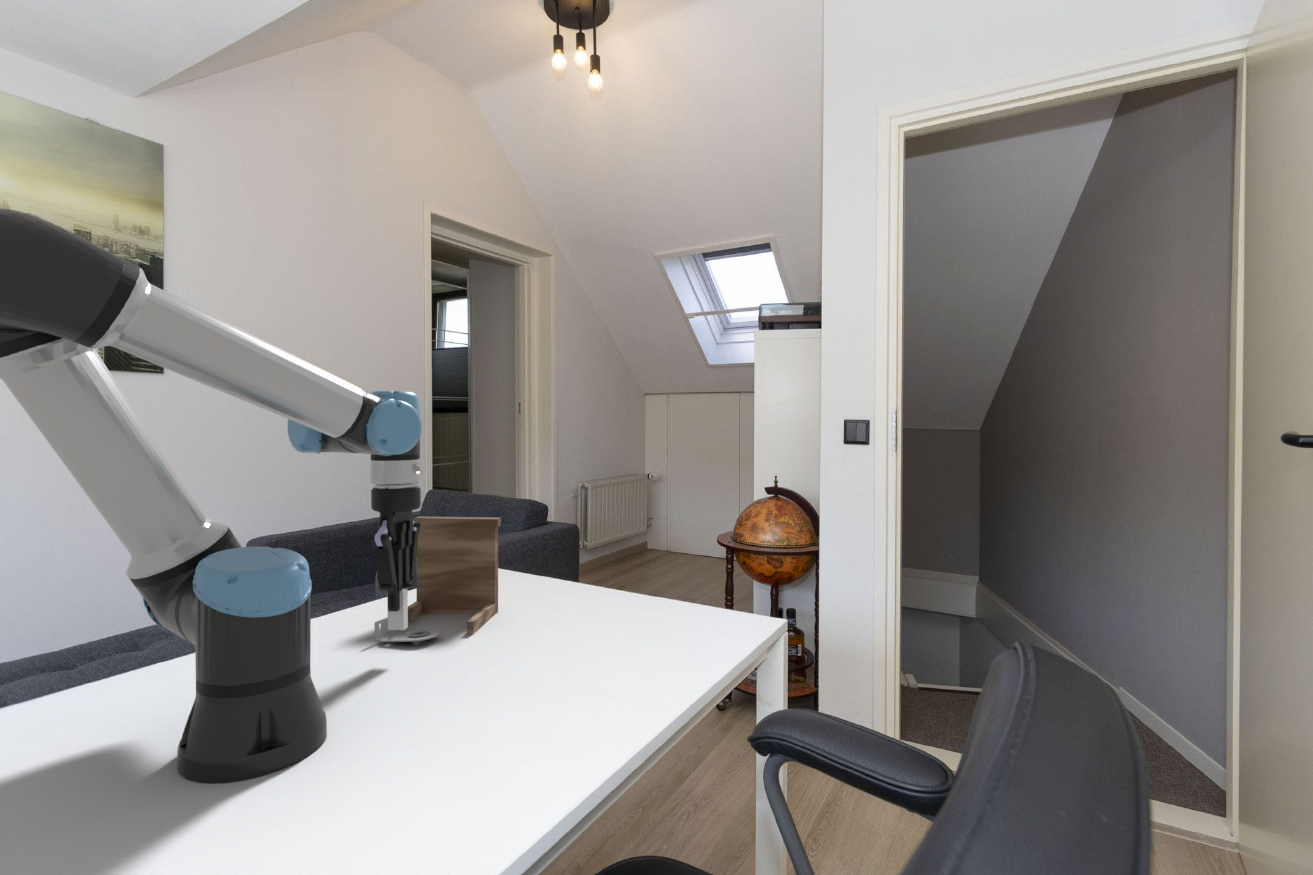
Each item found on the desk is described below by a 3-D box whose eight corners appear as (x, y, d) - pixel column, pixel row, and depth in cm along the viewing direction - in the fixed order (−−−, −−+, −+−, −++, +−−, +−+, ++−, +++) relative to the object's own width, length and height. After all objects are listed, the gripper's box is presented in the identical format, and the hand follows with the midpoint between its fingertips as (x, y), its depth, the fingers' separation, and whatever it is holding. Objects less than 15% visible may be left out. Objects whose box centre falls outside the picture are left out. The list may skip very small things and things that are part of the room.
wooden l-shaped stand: (475, 635, 119) (475, 529, 119) (384, 632, 120) (383, 527, 120) (500, 612, 134) (500, 517, 133) (418, 610, 135) (418, 516, 134)
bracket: (425, 645, 111) (426, 625, 111) (373, 641, 113) (374, 621, 113) (445, 636, 118) (446, 617, 118) (396, 632, 120) (396, 614, 120)
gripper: (399, 490, 99) (401, 642, 100) (435, 481, 112) (436, 617, 113) (352, 489, 100) (354, 641, 100) (393, 481, 113) (395, 616, 113)
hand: (397, 628), depth 107 cm, fingers closed
